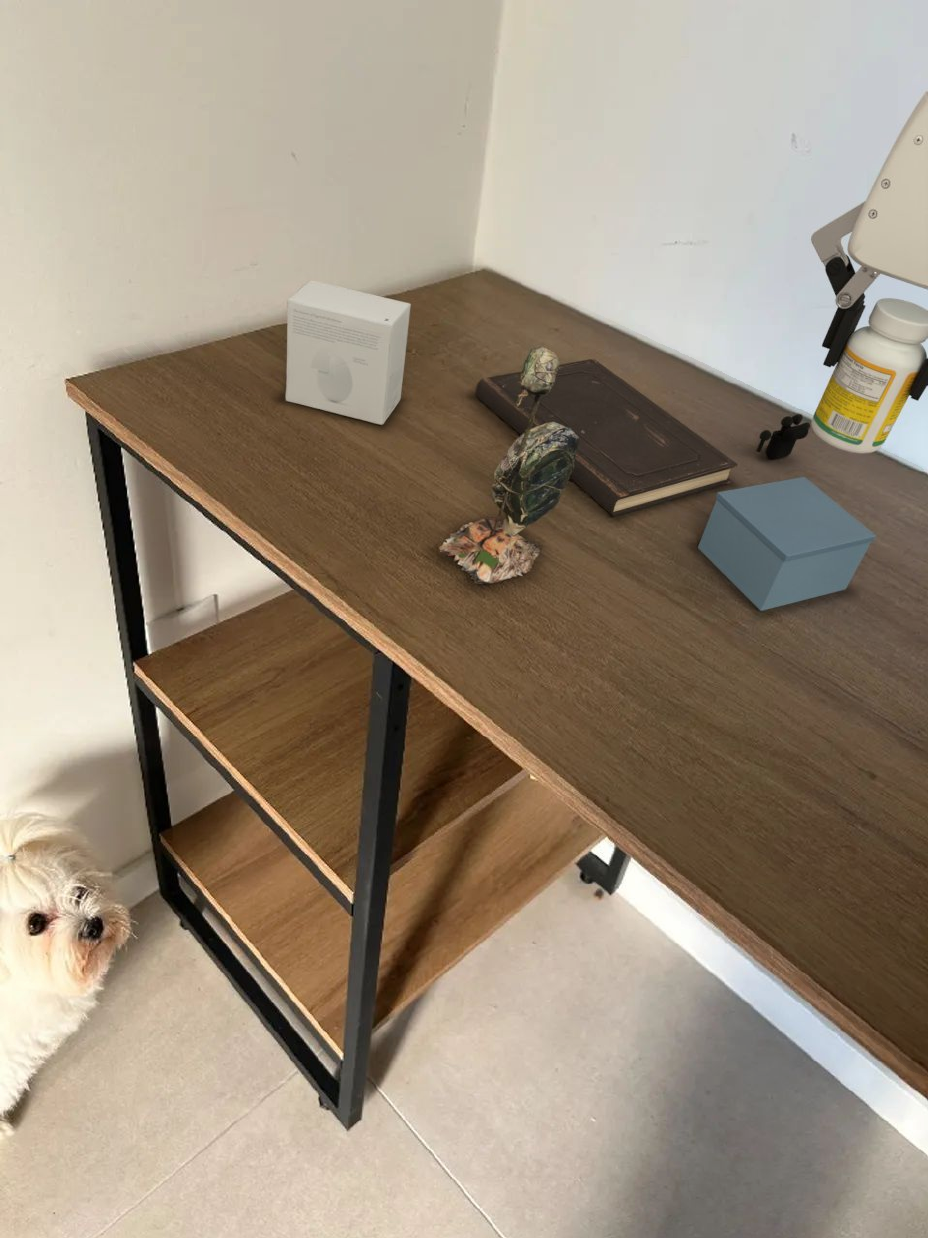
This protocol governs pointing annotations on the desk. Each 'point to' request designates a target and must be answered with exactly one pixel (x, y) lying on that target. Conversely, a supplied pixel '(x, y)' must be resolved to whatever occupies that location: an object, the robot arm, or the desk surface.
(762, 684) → the desk surface
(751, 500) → the blue box
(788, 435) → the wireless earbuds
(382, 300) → the cosmetics box
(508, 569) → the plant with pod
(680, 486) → the hardcover book
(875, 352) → the supplement bottle
